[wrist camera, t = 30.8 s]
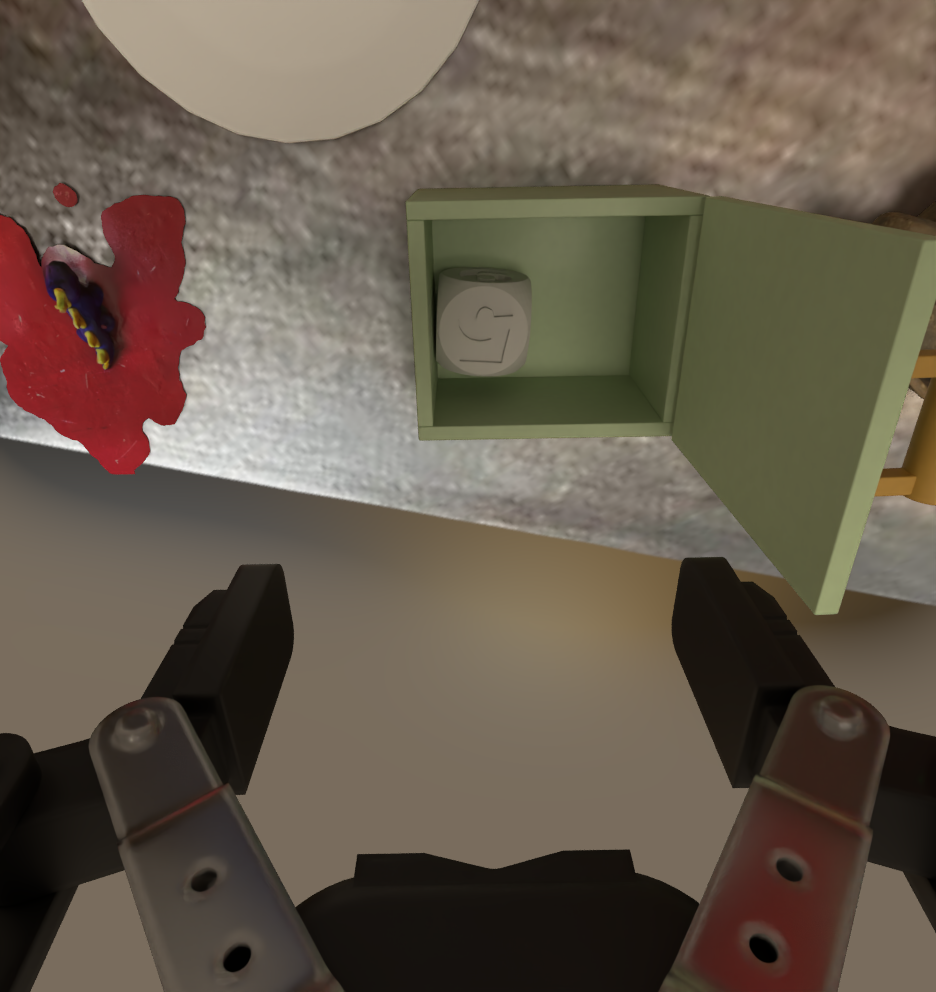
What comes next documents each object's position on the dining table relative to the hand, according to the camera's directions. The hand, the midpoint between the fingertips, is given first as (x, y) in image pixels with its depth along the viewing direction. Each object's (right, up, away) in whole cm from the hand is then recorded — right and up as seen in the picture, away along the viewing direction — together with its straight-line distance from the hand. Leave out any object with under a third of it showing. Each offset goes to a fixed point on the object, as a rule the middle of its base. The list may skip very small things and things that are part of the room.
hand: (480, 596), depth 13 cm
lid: (+11, +7, +12) cm, 17 cm away
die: (+1, +13, +26) cm, 30 cm away
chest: (+4, +14, +27) cm, 30 cm away
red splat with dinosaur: (-24, +12, +29) cm, 39 cm away
